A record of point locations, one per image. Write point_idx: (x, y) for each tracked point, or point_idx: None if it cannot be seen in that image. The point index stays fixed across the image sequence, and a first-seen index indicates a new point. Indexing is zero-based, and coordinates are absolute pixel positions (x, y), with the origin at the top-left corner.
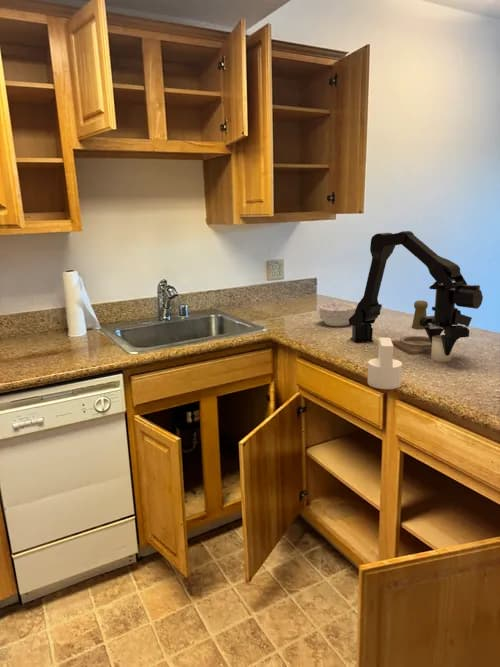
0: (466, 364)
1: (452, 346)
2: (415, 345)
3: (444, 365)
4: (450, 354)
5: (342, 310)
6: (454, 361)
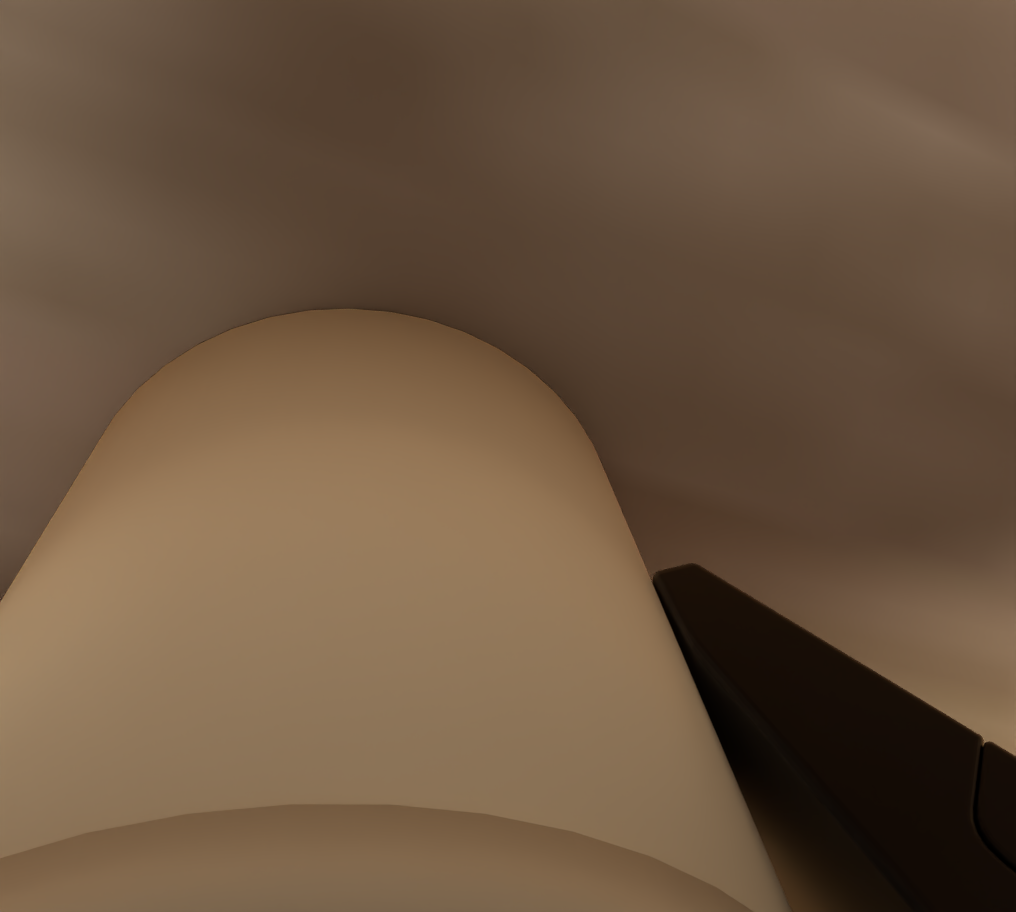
0: (968, 22)
1: (969, 757)
2: None
3: (892, 616)
4: (597, 490)
5: None
6: (617, 284)
